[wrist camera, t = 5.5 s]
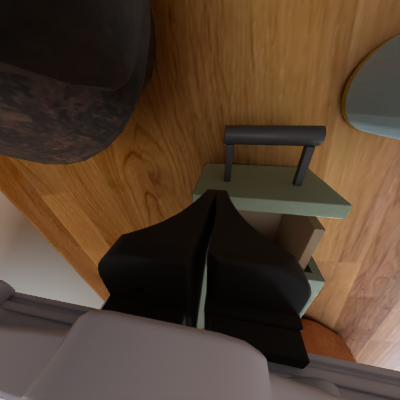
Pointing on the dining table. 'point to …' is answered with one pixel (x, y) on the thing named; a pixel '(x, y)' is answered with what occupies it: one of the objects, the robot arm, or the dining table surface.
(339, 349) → the bread
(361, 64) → the bottle
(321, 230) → the drawer
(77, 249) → the dining table surface
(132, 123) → the dining table surface
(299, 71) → the dining table surface
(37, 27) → the jug
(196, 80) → the dining table surface
